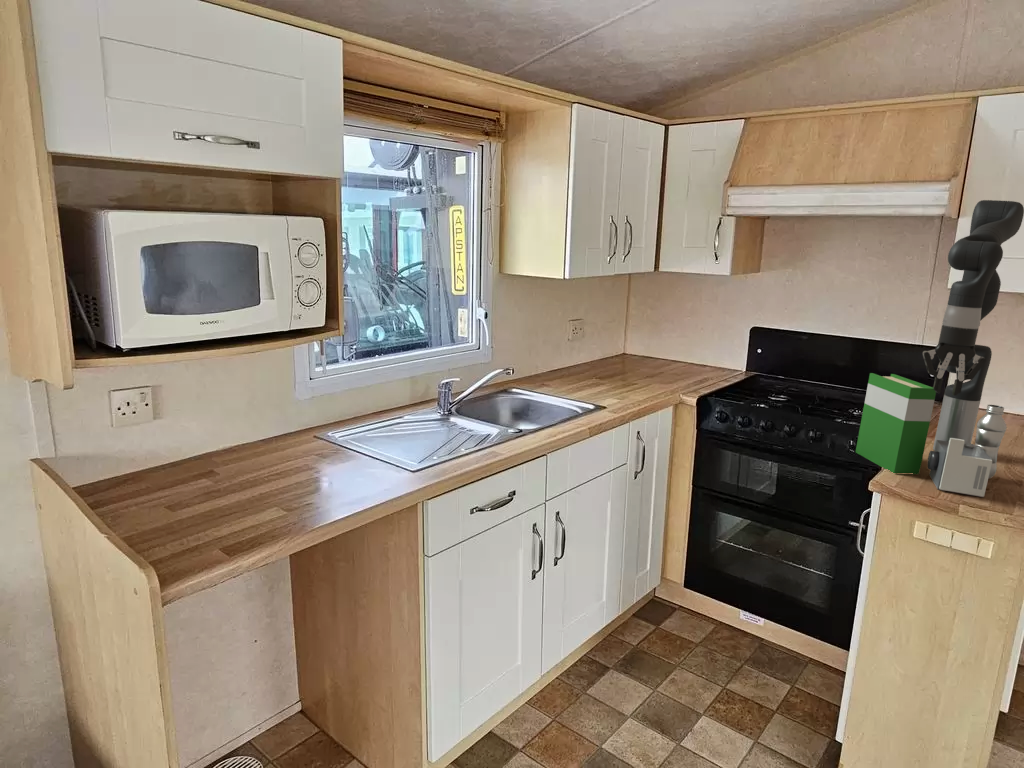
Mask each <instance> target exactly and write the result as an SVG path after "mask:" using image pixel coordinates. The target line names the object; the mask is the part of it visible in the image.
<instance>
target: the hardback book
mask: <svg viewBox="0 0 1024 768" xmlns="http://www.w3.org/2000/svg"><path fill="white" fill-rule="evenodd" d="M936 395H937V393H936V392H935V390H934V389H933V386H929V385H926V384H924V383H921V382H918V381H915V380H912V379H910V378H906V377H904V376H900V375H898V374H895V373H890V376H886V375H885V376H884V375H883V376H881V375H879V374H877V373H873V372H869V376H868V382H867V387H866V394H865V398H864V405H863V408H862V409H863V410H862V415H861V421H860V424H859V430H858V436H857V442H856V448H855V453H856V454H858V455H859V456H861V457H862V458H865V459H866V460H869V461H870V462H872V463H873V464H876V465H878V467H881V468H882V469H885V470H886V469H888V470H890V471H891V472H893V473H913V474H912V475H920V472H921V466H922V462H923V456H924V454H925V453H924V451H925V447H926V442H927V438H928V433H929V429H930V424H931V419H932V415H933V409H934V406H935V405H934V404H935V399H936ZM888 470H887V471H888ZM890 471H889V472H890ZM891 472H890V473H891ZM893 473H892V474H893Z"/></svg>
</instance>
